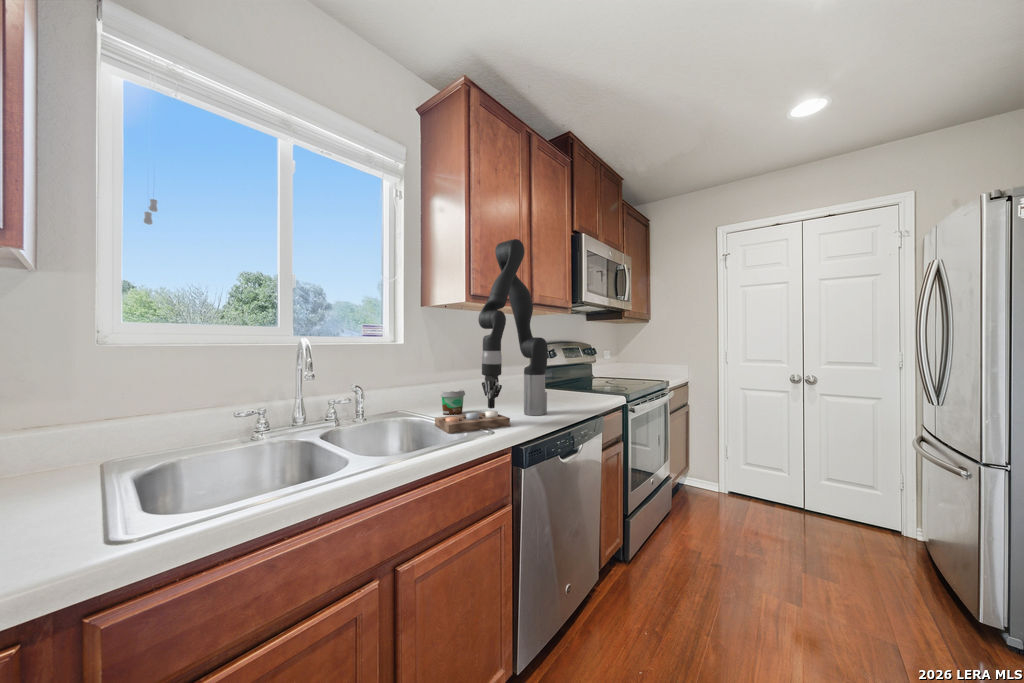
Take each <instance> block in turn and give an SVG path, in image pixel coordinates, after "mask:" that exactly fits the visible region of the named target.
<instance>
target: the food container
mask: <svg viewBox="0 0 1024 683" xmlns="http://www.w3.org/2000/svg"><path fill="white" fill-rule="evenodd" d="M465 396H466V392H465V390H464V389H462V388H460V389H459V390H458V391H452V390H451V391H441V393H440V397H441V404H442V405H441V406H442V408H441V409H442V415H443V416H457V415H463V408H464V406H463V405H464V397H465Z"/></svg>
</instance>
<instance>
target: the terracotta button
mask: <svg viewBox="0 0 1024 683" xmlns="http://www.w3.org/2000/svg"><path fill="white" fill-rule="evenodd" d="M445 417H446V418H445V421H446V422H455V421H459V417H447V416H445Z"/></svg>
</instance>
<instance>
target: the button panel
mask: <svg viewBox="0 0 1024 683" xmlns="http://www.w3.org/2000/svg"><path fill="white" fill-rule="evenodd" d="M478 413H479V419H474V420H467V419H466V414H459V415H446V416H439V417H434V426H435V427H437V428H438V429H440V430H442V431H443V432H445V433H446V434H455V433H457V434H458V433H466V432H473V431H479V430H480V429H483V430H489V429H488V428H491V429H497V428H498V429H499V428H506V427H511V426H510V425H511V418H510V417H508V416H505V415H504V414H503V415H502V414H499V413H498V417H493V418H487V417H485V412H478ZM446 417H459V421H455V422H446V421H445V418H446ZM480 431H481V430H480Z"/></svg>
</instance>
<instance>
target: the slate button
mask: <svg viewBox="0 0 1024 683" xmlns="http://www.w3.org/2000/svg"><path fill="white" fill-rule="evenodd" d="M479 413H480V412H467V413H465V415H466V419H467V420H474V419H479Z"/></svg>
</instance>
